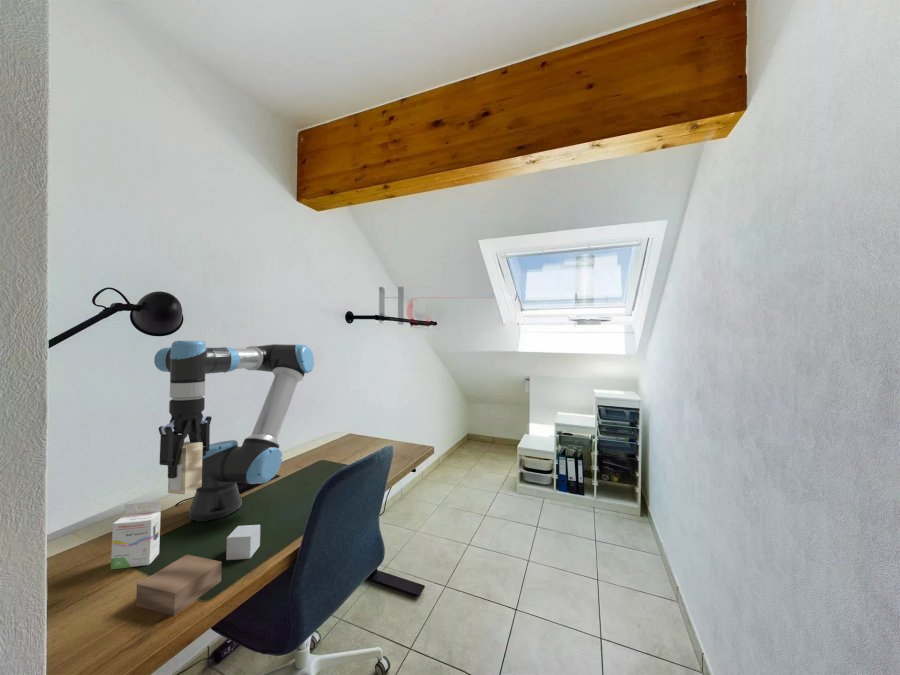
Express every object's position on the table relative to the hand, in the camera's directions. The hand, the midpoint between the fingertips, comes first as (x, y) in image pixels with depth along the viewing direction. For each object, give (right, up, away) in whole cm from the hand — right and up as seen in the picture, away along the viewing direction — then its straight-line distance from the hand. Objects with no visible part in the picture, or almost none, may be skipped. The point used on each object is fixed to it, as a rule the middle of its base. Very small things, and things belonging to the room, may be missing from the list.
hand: (185, 484), depth 90 cm
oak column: (0, -1, 0) cm, 1 cm away
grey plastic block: (+14, -20, +3) cm, 25 cm away
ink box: (-12, -20, -1) cm, 24 cm away
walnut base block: (+8, -20, -12) cm, 25 cm away
